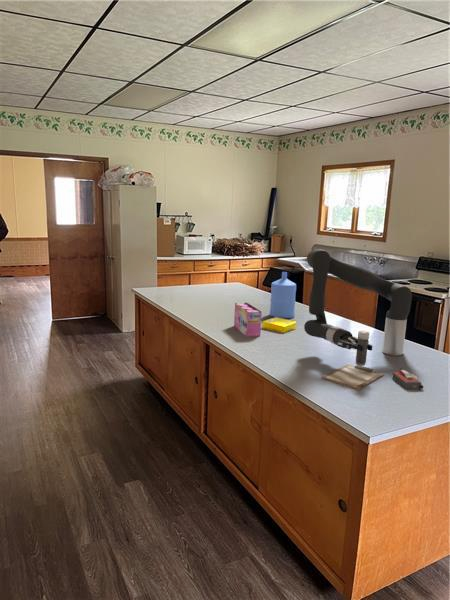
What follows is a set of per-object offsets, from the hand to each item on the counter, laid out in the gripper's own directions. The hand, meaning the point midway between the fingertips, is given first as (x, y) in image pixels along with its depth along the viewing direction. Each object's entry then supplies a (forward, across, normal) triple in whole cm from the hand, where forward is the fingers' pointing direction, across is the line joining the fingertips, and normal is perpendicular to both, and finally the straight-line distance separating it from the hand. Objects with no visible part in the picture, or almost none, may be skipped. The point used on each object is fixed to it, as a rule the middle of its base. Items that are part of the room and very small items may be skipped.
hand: (367, 348), depth 174 cm
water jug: (-102, +27, +13) cm, 106 cm away
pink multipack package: (-78, -12, +13) cm, 80 cm away
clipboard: (-3, -4, +12) cm, 13 cm away
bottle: (-3, 0, +8) cm, 8 cm away
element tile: (-77, +9, +14) cm, 79 cm away
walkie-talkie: (+8, +14, +13) cm, 21 cm away
